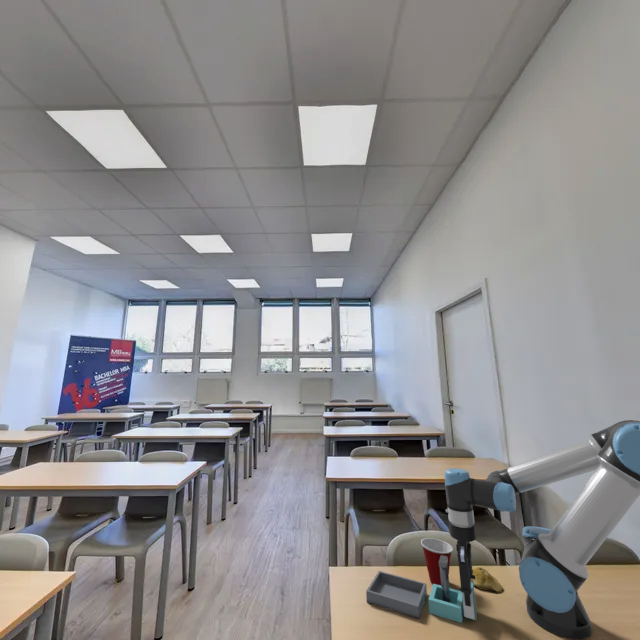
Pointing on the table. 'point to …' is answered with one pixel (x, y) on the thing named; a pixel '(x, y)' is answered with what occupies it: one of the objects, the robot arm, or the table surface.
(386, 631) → the table surface
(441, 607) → the tabbed collar
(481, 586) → the fossil
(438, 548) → the plastic cup
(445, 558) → the t stake
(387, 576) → the tray
